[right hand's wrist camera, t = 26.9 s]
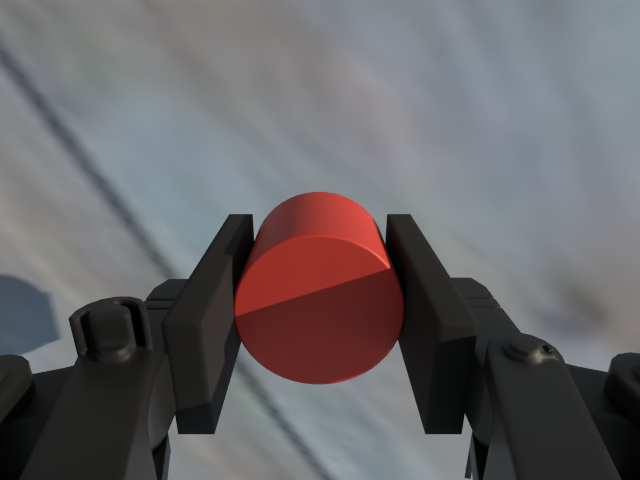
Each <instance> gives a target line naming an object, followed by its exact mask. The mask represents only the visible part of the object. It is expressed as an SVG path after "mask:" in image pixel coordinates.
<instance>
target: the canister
mask: <svg viewBox="0 0 640 480" xmlns="http://www.w3.org/2000/svg"><path fill="white" fill-rule="evenodd" d="M234 316H235V326H236V330H237V332H238V335H239V338H240V339H241V341H242V343H243V345H244V347H245V348H246V349H247V351H248V352H249V353H250V354H251V356H252V357H253V358H254V359H255V360H256V361H257V362H259V363H260V364H261V365H262V366H264V367H265V368H266V369H268V370H270V371H271V372H273V373H275V374H277V375H279V376H281V377H283V378H286V379H289V380H292V381H296V382H301V383H307V384H331V383H337V382H342V381H346V380H349V379H352V378H355V377H357V376H359V375H361V374H364V373H365V372H367V371H368V370H370V369H372V368H373V367H374V366H376V365H377V364H378V363H380V362H381V361H382V360H383V359H384V358H385V357H386V356H387V354H388V353H389V352H390V351H391V349H392V348H393V346H394V345H395V343H396V341H397V339H398V337H399V335H400V332H401V330H402V326H403V322H404V317H405V299H404V295H403V290H402V287H401V285H400V282H399V279H398V277H397V274H396V271H395V269H394V266H393V264H392V261H391V258H390V256H389V253H388V251H387V248H386V245H385V243H384V240H383V238H382V235H381V232H380V230H379V227H378V226H377V224H376V222H375V220H374V219H373V218H372V216H371V215H370V214H369V213H368V212H367V211H366V210H365V209H364V208H363V207H361V206H360V205H359V204H358V203H356V202H354V201H352V200H351V199H349V198H346V197H344V196H341V195H337V194H334V193H327V192H312V193H305V194H301V195H297V196H295V197H292V198H290V199H288V200H286V201H284V202H283V203H281V204H280V205H278V206H277V207H276V208H275V209H274V210H273V211H272V212H271V213H270V214H269V215H268V216H267V217H266V219H265V220H264V221H263V223H262V225H261V227H260V229H259V231H258V234H257V236H256V239H255V241H254V244H253V246H252V249H251V251H250V254H249V256H248V259H247V261H246V264H245V266H244V269H243V271H242V274H241V276H240V279H239V281H238V284H237V286H236V289H235V294H234Z"/></svg>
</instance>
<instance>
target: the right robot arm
mask: <svg viewBox="0 0 640 480" xmlns="http://www.w3.org/2000/svg"><path fill="white" fill-rule="evenodd" d="M253 244H254V231H253V215H252V214H229V216H228V218H227V219H226V221H225V222H224V224H223V225H222V227H221V229H220V230H219V232H218V233H217V235H216V236H215V238H214V240H213V241H212V243H211V244H210V246H209V247H208V249H207V251H206V252H205V254H204V255H203V257H202V258H201V260H200V262H199V263H198V265H197V266H196V268H195V269H194V271H193V273H192V274H191V276H190V277H189V279H169V280H167V281H165V282H164V283H162V284H160V285H159V286H157V287H156V288H154V289H153V291H152V292H151V293H150V295H149V296H148V297H147V299H146V301H144V302H143V301H142V300H140V299H138V298H133V297H112V298H107V299H101V300H99V301H96V302H93V303H90V304H87V305H85V306H84V307H82V308H80V309H78V310H77V311H75V312H74V313H73V314H72V315H71V316H70V318H69V322H70V326H71V330H72V334H73V338H74V342H75V346H76V350H77V354H78V358H77V360H76V362H75V364H74V366H70V367H66V368H62V369H57V370H51V371H46V372H41V373H36V374H32V371H31V368H30V365H29V361H27V360H26V359H25V358H24V357H22V356H17V355H1V356H0V480H167V477H168V468H169V460H170V451H171V449H170V443H169V437H168V430H169V427H170V425H171V423H172V420H173V418H174V416H176V423H177V429H178V434H214V433H215V430H216V427H217V423H218V420H219V416H220V413H221V409H222V406H223V402H224V399H225V396H226V392H227V389H228V385H229V382H230V378H231V375H232V372H233V368H234V365H235V361H236V358H237V354H238V351H239V348H240V344H241V339H240V338H239V335H238V332H237V330H236V326H235V316H234V294H235V289H236V286H237V284H238V281H239V279H240V276H241V274H242V271H243V269H244V266H245V264H246V261H247V259H248V256H249V254H250V251H251V249H252V246H253ZM385 245H386V248H387V251H388V253H389V256H390V258H391V261H392V264H393V266H394V269H395V271H396V274H397V277H398V279H399V282H400V285H401V287H402V290H403V295H404V299H405V317H404V322H403V326H402V330H401V332H400V335H399V337H398V342H399V345H400V348H401V352H402V355H403V359H404V362H405V366H406V369H407V372H408V376H409V379H410V383H411V386H412V390H413V393H414V397H415V400H416V403H417V407H418V410H419V414H420V417H421V421H422V424H423V427H424V431H425V434H461V433H462V427H463V421H464V414H466V416H467V419H468V421H469V423H470V426H471V428H472V437H471V442H470V448H469V454H468V460H467V466H466V472H465V478H469V479H470V478H471V473H472V476H473V480H640V354H639V353H623V354H618V355H617V356H615V357H614V358H613V359H612V360H611V364H610V367H609V370H608V372H604V371H598V370H593V369H588V368H583V367H578V366H573V365H569V364H565V361H564V359H563V357H562V356H561V354H560V353H559V352H558V351H557V349H556V348H555V347H553V346H552V345H550V344H549V343H547V342H546V341H544V340H542V339H539V338H537V337H534V336H532V335H528V334H523V333H521V332H520V331H519V330H518V328H517V327H516V326H515V324H514V323H513V322H512V320H511V319H510V318H509V317H508V315H507V314H506V313H505V311H504V310H503V309H502V308H500V305H499V304H498V302H497V301H496V300H495V299H494V297H493V296H492V295H491V293H490V292H489V291H488V289H487V288H486V287H485V286H483V285H482V284H480V283H479V282H477V281H475V280H474V279H472V278H450V276H449V275H448V273H447V271H446V270H445V268H444V267H443V265H442V264H441V262H440V260H439V259H438V257H437V256H436V254H435V253H434V251H433V249H432V248H431V246H430V245H429V243H428V242H427V240H426V238H425V237H424V235H423V234H422V232H421V231H420V229H419V227H418V226H417V224H416V223H415V221H414V219H413V218H412V216H411V215H410V214H387V227H386V244H385Z"/></svg>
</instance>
